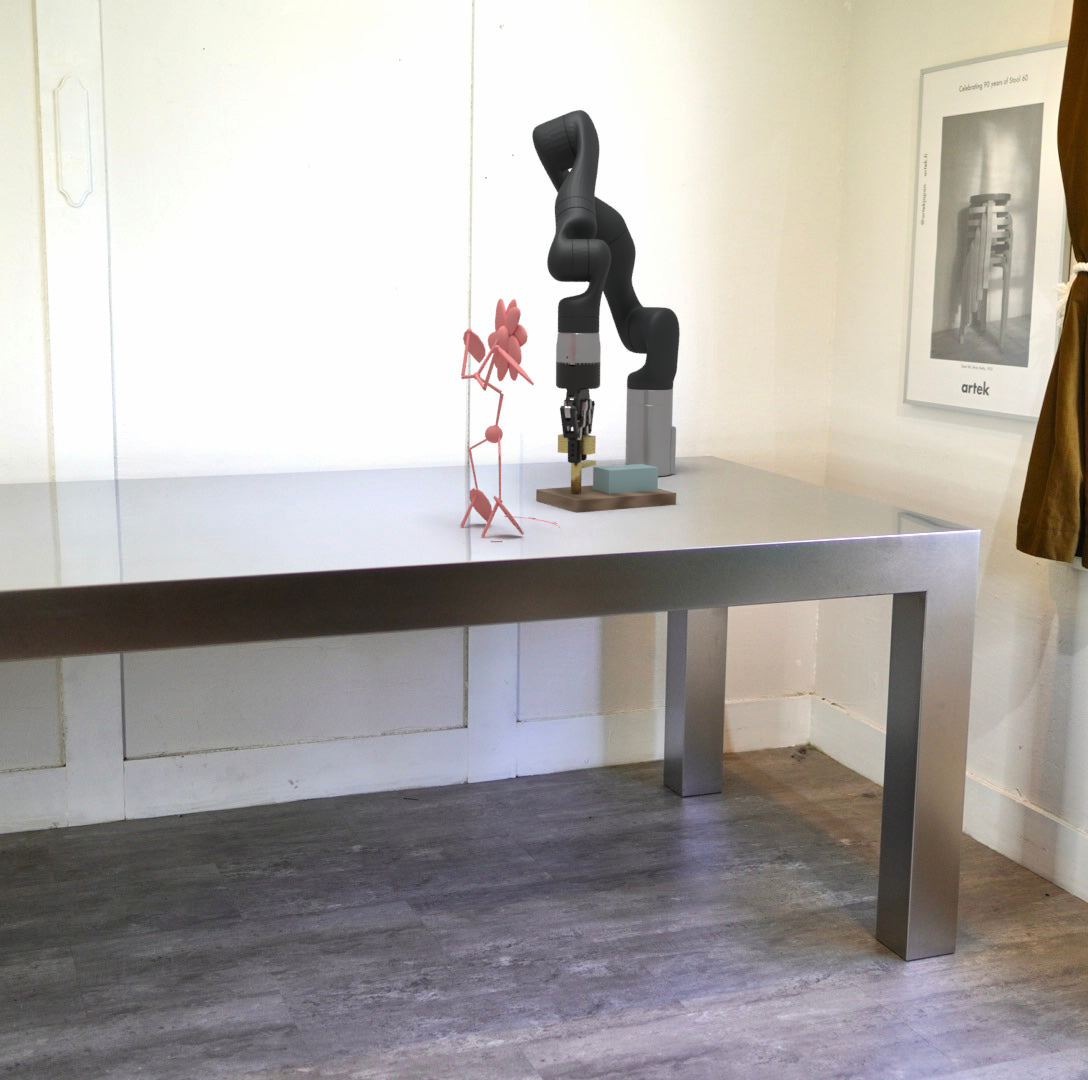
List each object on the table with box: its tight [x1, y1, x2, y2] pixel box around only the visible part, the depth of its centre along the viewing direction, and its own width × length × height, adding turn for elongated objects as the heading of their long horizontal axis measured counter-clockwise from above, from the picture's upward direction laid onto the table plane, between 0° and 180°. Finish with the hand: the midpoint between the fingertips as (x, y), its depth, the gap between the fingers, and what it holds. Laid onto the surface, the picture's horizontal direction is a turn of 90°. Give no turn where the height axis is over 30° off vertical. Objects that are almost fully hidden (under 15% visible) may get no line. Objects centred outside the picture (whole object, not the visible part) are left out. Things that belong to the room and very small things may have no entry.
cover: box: [592, 464, 659, 494], centre depth 234 cm, size 10×5×4 cm, turn 119°
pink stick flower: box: [459, 298, 561, 543], centre depth 202 cm, size 15×26×35 cm, turn 24°
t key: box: [557, 433, 597, 493], centre depth 231 cm, size 7×6×10 cm
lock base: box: [535, 484, 677, 513], centre depth 233 cm, size 20×14×2 cm
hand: (577, 461), depth 229 cm, fingers closed on t key, 3 cm apart
